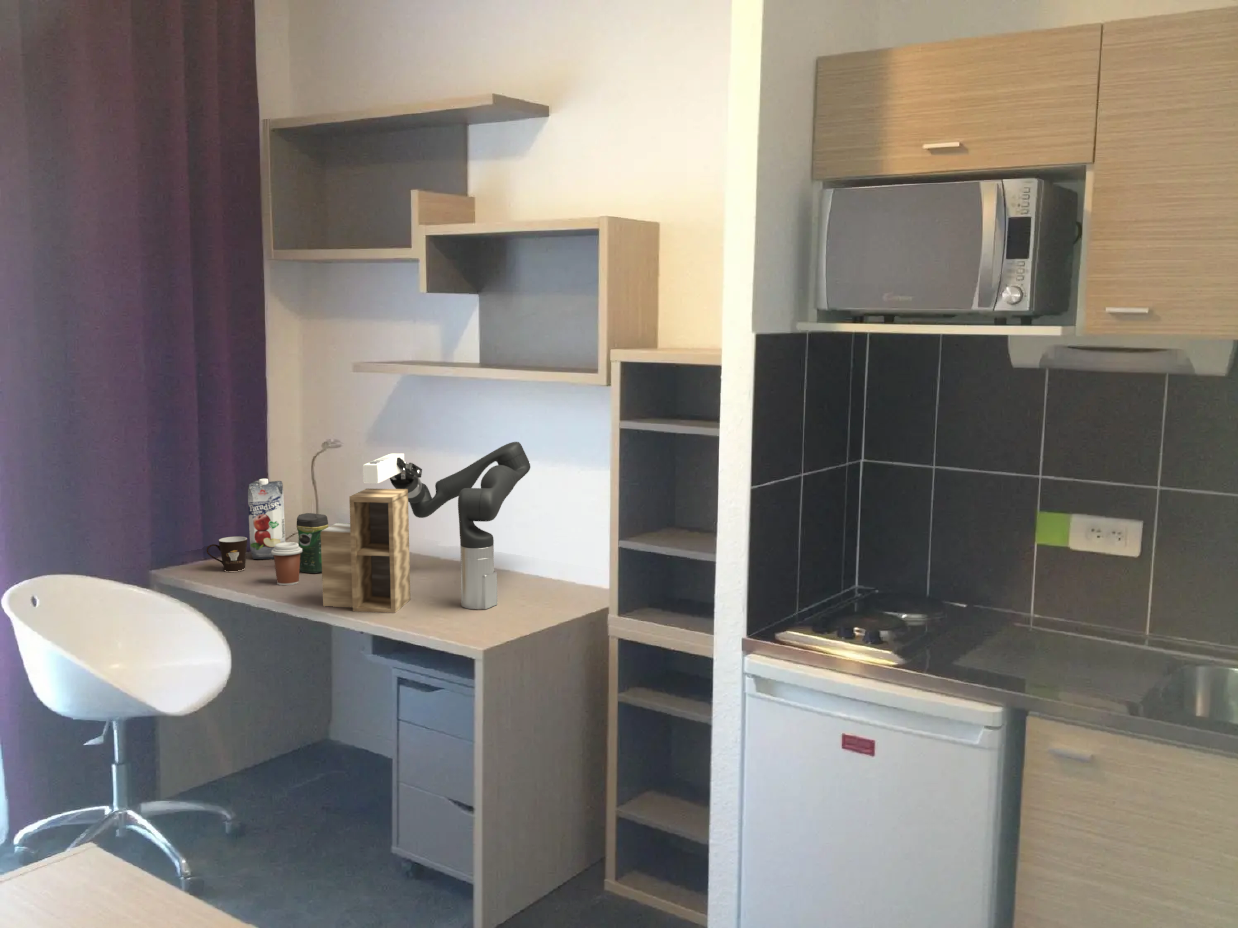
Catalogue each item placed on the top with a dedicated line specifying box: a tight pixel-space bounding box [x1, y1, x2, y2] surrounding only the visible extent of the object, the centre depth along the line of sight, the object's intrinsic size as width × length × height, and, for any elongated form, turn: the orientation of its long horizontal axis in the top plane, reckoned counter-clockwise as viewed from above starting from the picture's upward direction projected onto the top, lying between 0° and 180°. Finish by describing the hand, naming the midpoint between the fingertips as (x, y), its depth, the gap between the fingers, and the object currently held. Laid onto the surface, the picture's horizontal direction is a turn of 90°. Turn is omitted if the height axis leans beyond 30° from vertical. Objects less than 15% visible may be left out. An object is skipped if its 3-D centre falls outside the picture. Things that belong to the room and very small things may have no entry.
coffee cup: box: [271, 541, 302, 586], centre depth 329 cm, size 9×9×12 cm
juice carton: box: [247, 478, 286, 560], centre depth 363 cm, size 9×10×27 cm
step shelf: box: [321, 488, 411, 613], centre depth 304 cm, size 16×22×32 cm
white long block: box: [362, 453, 405, 484], centre depth 305 cm, size 24×4×5 cm, turn 174°
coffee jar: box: [296, 512, 329, 574], centre depth 344 cm, size 10×8×19 cm
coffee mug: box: [206, 536, 248, 571], centre depth 346 cm, size 12×9×10 cm
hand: (390, 460), depth 309 cm, fingers closed on white long block, 4 cm apart
